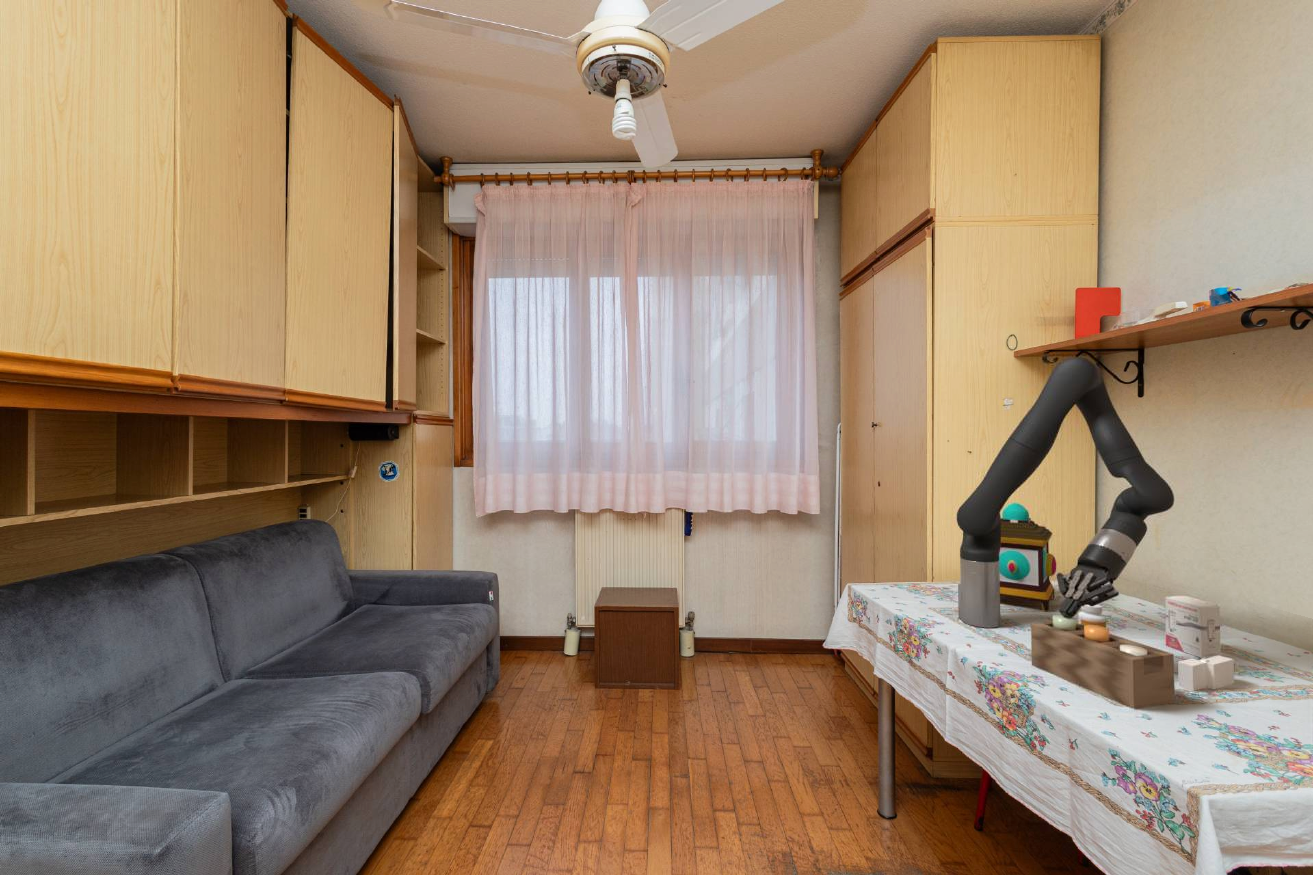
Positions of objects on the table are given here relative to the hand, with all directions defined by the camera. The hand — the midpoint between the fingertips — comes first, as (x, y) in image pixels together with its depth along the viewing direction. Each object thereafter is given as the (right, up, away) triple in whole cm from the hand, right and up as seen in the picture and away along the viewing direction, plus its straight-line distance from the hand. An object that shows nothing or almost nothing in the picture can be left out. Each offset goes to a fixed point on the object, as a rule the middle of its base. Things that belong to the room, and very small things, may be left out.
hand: (1064, 615), depth 121 cm
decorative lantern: (+23, -12, +51) cm, 57 cm away
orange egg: (+2, -4, -7) cm, 8 cm away
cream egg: (+3, -5, -14) cm, 15 cm away
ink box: (+36, -11, +9) cm, 39 cm away
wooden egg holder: (+2, -12, -7) cm, 14 cm away
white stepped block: (+22, -12, -8) cm, 26 cm away
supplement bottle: (+16, -12, +13) cm, 24 cm away
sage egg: (0, -4, 0) cm, 4 cm away
